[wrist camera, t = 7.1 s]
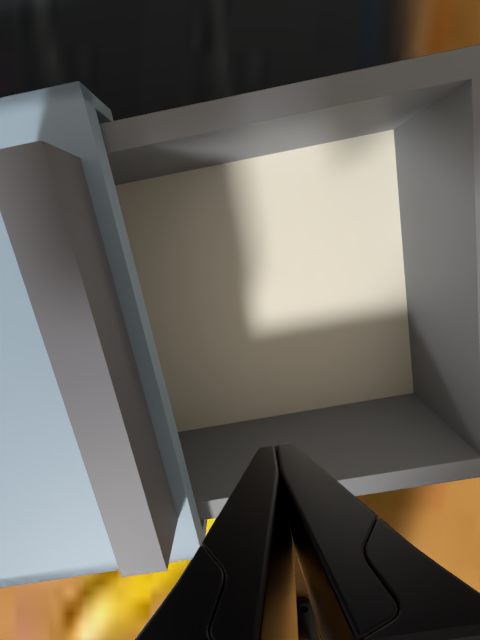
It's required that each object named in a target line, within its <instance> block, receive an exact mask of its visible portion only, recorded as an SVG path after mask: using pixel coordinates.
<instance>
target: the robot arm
mask: <svg viewBox="0 0 480 640" xmlns="http://www.w3.org/2000/svg"><path fill="white" fill-rule="evenodd" d="M276 449H277V450H276ZM289 522H290V523H289ZM290 528H291V529H290ZM291 533H292V534H291ZM292 538H293V541H292ZM293 543H294V547H295V551H296V555H297V559H298V562H299V565H300V569H301V572H302V575H303V579H304V582H305V585H306V589H307V592H308V595H309V598H308V597H296V585H295V565H294V550H293ZM313 612H314V614H313ZM314 616H315V619H316V622H317V626H318V629H319V632H320V636H321V639H322V640H480V593H479V592H478V591H476V590H475V589H473V588H472V587H470V586H469V585H468V584H466V583H465V582H463V581H462V580H460V579H459V578H457V577H456V576H455V575H453V574H452V573H450V572H449V571H447V570H446V569H445V568H443V567H442V566H440V565H439V564H438V563H436V562H435V561H434V560H432V559H431V558H429V557H428V556H427V555H425V554H424V553H423V552H421V551H420V550H418V549H417V548H416V547H414V546H413V545H412V544H411V543H410V542H408V541H407V540H406V539H405V538H403V537H402V536H401V535H400V534H399V533H397V532H396V531H395V530H394V529H392V528H391V527H390V526H389V525H388V524H387V523H386V522H384V521H383V520H382V519H381V518H379V517H378V516H377V515H376V514H375V513H374V512H373V511H372V510H370V509H369V508H368V507H367V506H366V505H365V504H363V503H362V502H361V501H360V500H359V499H358V498H357V497H355V496H354V495H353V494H352V493H351V492H350V491H348V490H347V489H346V488H345V487H344V486H343V485H342V484H340V483H339V482H338V481H337V480H336V479H335V478H333V477H332V476H331V475H330V474H329V473H328V472H327V471H325V470H324V469H323V468H322V467H321V466H320V465H318V464H317V463H316V462H315V461H314V460H313V459H312V458H310V457H309V456H308V455H307V454H306V453H305V452H303V451H302V450H301V449H300V448H299V447H298V446H297V445H295V444H294V443H292V442H289V443H283V444H278V445H277V447H275V446H274V445H271V446H265V447H260V448H259V449H258V450H257V452H256V453H255V455H254V457H253V458H252V460H251V462H250V463H249V465H248V467H247V468H246V470H245V472H244V473H243V475H242V477H241V478H240V480H239V482H238V483H237V485H236V487H235V488H234V490H233V492H232V493H231V495H230V497H229V498H228V500H227V502H226V503H225V505H224V507H223V508H222V510H221V512H220V513H219V515H218V517H217V518H216V520H215V522H214V523H213V525H212V527H211V528H210V530H209V532H208V533H207V535H206V537H205V538H204V540H203V542H202V544H201V546H200V547H199V548H198V550H197V552H196V553H195V555H194V557H193V558H192V560H191V561H190V563H189V565H188V566H187V568H186V569H185V571H184V572H183V574H182V575H181V577H180V579H179V580H178V582H177V583H176V585H175V586H174V587H173V589H172V590H171V592H170V593H169V594H168V596H167V597H166V599H165V600H164V601H163V603H162V604H161V606H160V607H159V608H158V610H157V611H156V612H155V614H154V615H153V616H152V618H151V619H150V620H149V622H148V623H147V624H146V626H145V627H144V628H143V630H142V631H141V632H140V634H139V635H138V636H137V638H136V639H135V640H318V636H317V631H316V625H315V619H314Z"/></svg>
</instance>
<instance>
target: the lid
mask: <svg viewBox="0 0 480 640" xmlns="http://www.w3.org/2000/svg"><path fill="white" fill-rule="evenodd" d="M111 121H113V117H112V113H111V110H110V109H109V108H108V107H107V106H106V105H105V104H104V103H102V102H101V101H100V100H99V99H98V98H97V97H96V96H95V95H94V94H93V93H92V92H90V91H89V90H88V89H87V88H86V87H85V86H84V85H83V84H82V83H81V82H80V81H76V82H72V83H67V84H62V85H58V86H53V87H49V88H44V89H39V90H35V91H30V92H25V93H21V94H16V95H11V96H7V97H2V98H0V588H2V587H9V586H15V585H22V584H29V583H35V582H42V581H49V580H55V579H62V578H69V577H75V576H82V575H89V574H96V573H102V572H109V571H116V570H119V571H120V574H121V577H127V576H134V575H141V574H148V573H154V572H161V571H167V568H168V564H169V562H176V561H183V560H189V559H192V558H193V557H194V555H195V553H196V552H197V550H198V548H199V547H200V546H201V544H202V542H203V540H204V538H205V533H206V525H207V519H205V520H200V518H199V514H198V510H197V506H196V503H195V499H194V495H193V491H192V487H191V483H190V479H189V475H188V471H187V467H186V463H185V459H184V455H183V451H182V447H181V444H180V440H179V436H178V432H177V428H176V424H175V420H174V416H173V412H172V408H171V404H170V400H169V396H168V392H167V388H166V385H165V381H164V377H163V373H162V369H161V365H160V361H159V357H158V353H157V349H156V345H155V341H154V337H153V333H152V329H151V326H150V322H149V318H148V314H147V310H146V306H145V302H144V298H143V294H142V290H141V286H140V282H139V278H138V274H137V270H136V267H135V263H134V259H133V255H132V251H131V247H130V243H129V239H128V235H127V231H126V227H125V223H124V219H123V215H122V211H121V208H120V204H119V200H118V196H117V192H116V188H115V184H114V180H113V176H112V172H111V168H110V164H109V160H108V156H107V152H106V149H105V145H104V141H103V137H102V133H101V129H100V125H99V124H102V123H107V122H111Z"/></svg>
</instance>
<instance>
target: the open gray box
mask: <svg viewBox="0 0 480 640" xmlns="http://www.w3.org/2000/svg"><path fill="white" fill-rule="evenodd" d="M99 125H100V129H101V133H102V137H103V141H104V145H105V149H106V152H107V156H108V160H109V164H110V168H111V172H112V176H113V180H114V184H115V188H116V192H117V196H118V200H119V204H120V208H121V211H122V215H123V219H124V223H125V227H126V231H127V235H128V239H129V243H130V247H131V251H132V255H133V259H134V263H135V267H136V270H137V274H138V278H139V282H140V286H141V290H142V294H143V298H144V302H145V306H146V310H147V314H148V318H149V322H150V326H151V329H152V333H153V337H154V341H155V345H156V349H157V353H158V357H159V361H160V365H161V369H162V373H163V377H164V381H165V385H166V388H167V392H168V396H169V400H170V404H171V408H172V412H173V416H174V420H175V424H176V428H177V432H178V436H179V440H180V444H181V447H182V451H183V455H184V459H185V463H186V467H187V471H188V475H189V479H190V483H191V487H192V491H193V495H194V499H195V503H196V506H197V510H198V514H199V518H200V520H205V519H211V518H217V517H218V515H219V513H220V512H221V510H222V508H223V507H224V505H225V503H226V502H227V500H228V498H229V497H230V495H231V493H232V492H233V490H234V488H235V487H236V485H237V483H238V482H239V480H240V478H241V477H242V475H243V473H244V472H245V470H246V468H247V467H248V465H249V463H250V462H251V460H252V458H253V457H254V455H255V453H256V452H257V450H258V449H259V448H260V447H265V446H271V445H274V446H275V447H277V445H278V444H283V443H289V442H292V443H294V444H295V445H297V446H298V447H299V448H300V449H301V450H302V451H303V452H305V453H306V454H307V455H308V456H309V457H310V458H312V459H313V460H314V461H315V462H316V463H317V464H318V465H320V466H321V467H322V468H323V469H324V470H325V471H327V472H328V473H329V474H330V475H331V476H332V477H333V478H335V479H336V480H337V481H338V482H339V483H340V484H342V485H343V486H344V487H345V488H346V489H347V490H348V491H350V492H351V493H352V494H353V495H354V496H360V495H367V494H373V493H380V492H386V491H393V490H399V489H406V488H412V487H419V486H425V485H432V484H438V483H445V482H451V481H458V480H464V479H470V478H477V477H480V44H479V45H474V46H470V47H465V48H460V49H455V50H450V51H446V52H441V53H436V54H431V55H427V56H422V57H417V58H412V59H407V60H403V61H398V62H393V63H388V64H384V65H379V66H374V67H369V68H365V69H360V70H355V71H350V72H345V73H341V74H336V75H331V76H326V77H322V78H317V79H312V80H307V81H302V82H298V83H293V84H288V85H283V86H279V87H274V88H269V89H264V90H259V91H255V92H250V93H245V94H240V95H236V96H231V97H226V98H221V99H216V100H212V101H207V102H202V103H197V104H193V105H188V106H183V107H178V108H173V109H169V110H164V111H159V112H154V113H150V114H145V115H140V116H135V117H130V118H126V119H121V120H116V121H111V122H107V123H102V124H99ZM276 450H277V449H276Z"/></svg>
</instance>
